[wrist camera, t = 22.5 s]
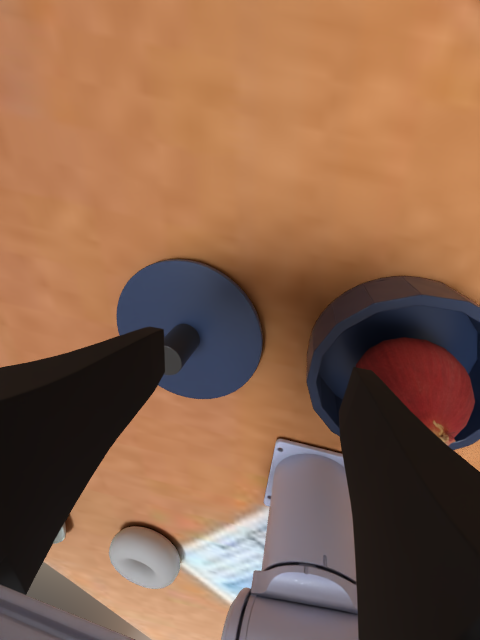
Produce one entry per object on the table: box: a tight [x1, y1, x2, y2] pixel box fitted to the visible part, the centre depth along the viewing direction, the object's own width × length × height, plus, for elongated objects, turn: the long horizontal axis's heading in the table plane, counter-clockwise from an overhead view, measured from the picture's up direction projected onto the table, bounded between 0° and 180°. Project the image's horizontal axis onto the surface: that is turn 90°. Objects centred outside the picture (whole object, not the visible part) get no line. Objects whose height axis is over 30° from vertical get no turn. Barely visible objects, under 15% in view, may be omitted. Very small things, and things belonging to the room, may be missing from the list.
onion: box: [356, 337, 475, 446], centre depth 16 cm, size 6×6×8 cm
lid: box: [117, 259, 263, 399], centre depth 21 cm, size 12×12×5 cm
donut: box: [109, 526, 180, 589], centre depth 37 cm, size 10×4×10 cm
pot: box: [307, 276, 480, 450], centre depth 18 cm, size 11×11×4 cm
